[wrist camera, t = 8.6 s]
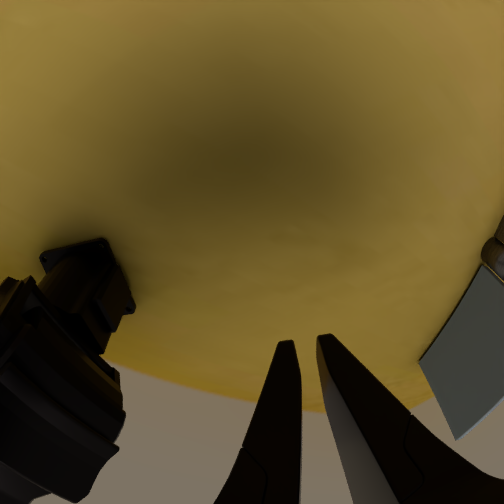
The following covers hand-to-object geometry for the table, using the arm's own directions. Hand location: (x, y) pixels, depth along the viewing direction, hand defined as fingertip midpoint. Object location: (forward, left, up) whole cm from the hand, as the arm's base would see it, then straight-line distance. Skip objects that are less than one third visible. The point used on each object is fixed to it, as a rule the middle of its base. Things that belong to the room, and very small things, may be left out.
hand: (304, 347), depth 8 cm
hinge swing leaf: (+18, -14, -12) cm, 26 cm away
